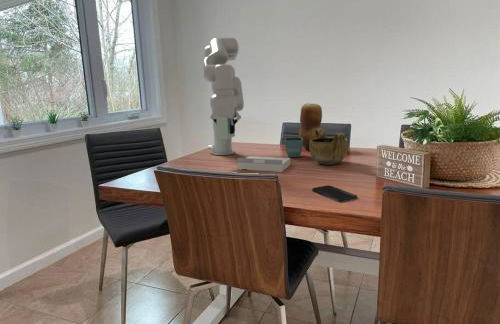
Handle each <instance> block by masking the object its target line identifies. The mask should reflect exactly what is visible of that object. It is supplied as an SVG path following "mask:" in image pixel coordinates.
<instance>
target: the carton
mask: <svg viewBox="0 0 500 324" xmlns="http://www.w3.org/2000/svg"><path fill="white" fill-rule="evenodd" d="M216 118H217V137H218V139H230V138H232V139H233V138H234V137H235V136H236V135H235V134H236V132H234V134H230V125H231V123H230V119H228V116H217V117H216Z"/></svg>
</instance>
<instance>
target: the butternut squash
mask: <svg viewBox="0 0 500 324" xmlns="http://www.w3.org/2000/svg"><path fill="white" fill-rule="evenodd" d="M322 109H323V108H322V107H321V105H319V104H318V103H308V102H307V103H305V104H303V105H302V106H301V108H300V116H299V122H300V123H299V124H300V128H299V133H298V136H297V138H302V139H303V145H302V147H304V149H306V150H308V151H310V149H309V143H310V140H311V139H314V138H316V134H315V130H316V129H322V127H321V125H322V124H321V123H322V120H323V119H322V118H323V111H322Z"/></svg>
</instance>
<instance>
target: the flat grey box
mask: <svg viewBox="0 0 500 324" xmlns="http://www.w3.org/2000/svg"><path fill="white" fill-rule="evenodd" d="M289 166H291V157H272V156H253V155H252V156H250V155H249V156H247V157H237V170H242V169H247V171H259V172H260V171H261V172H262V171H263V172H275V173H276V172H277V173H278V172H279V173H282V172H283V171H285V170H286V169H287V168H289Z"/></svg>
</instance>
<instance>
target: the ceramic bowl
mask: <svg viewBox="0 0 500 324" xmlns="http://www.w3.org/2000/svg"><path fill="white" fill-rule="evenodd" d="M315 134H316V138H314V139H311V140H310V143H309V149H310V150H309V154H310V156H311V158H312V159H313V160H314V161H315V162H317V163H320V164H322V165H325V166H331V165H337V164H338V163H341V162H342V161H343V160H344V159H345V158H346V156H347V154H348V149H349V146H348V145H349V143H348V142H349V141H348V139H347V138H346V135H345V133H344V132H339V133H335V134H334V136H326V132H325V130H324V128H321V129H316V130H315Z"/></svg>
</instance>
